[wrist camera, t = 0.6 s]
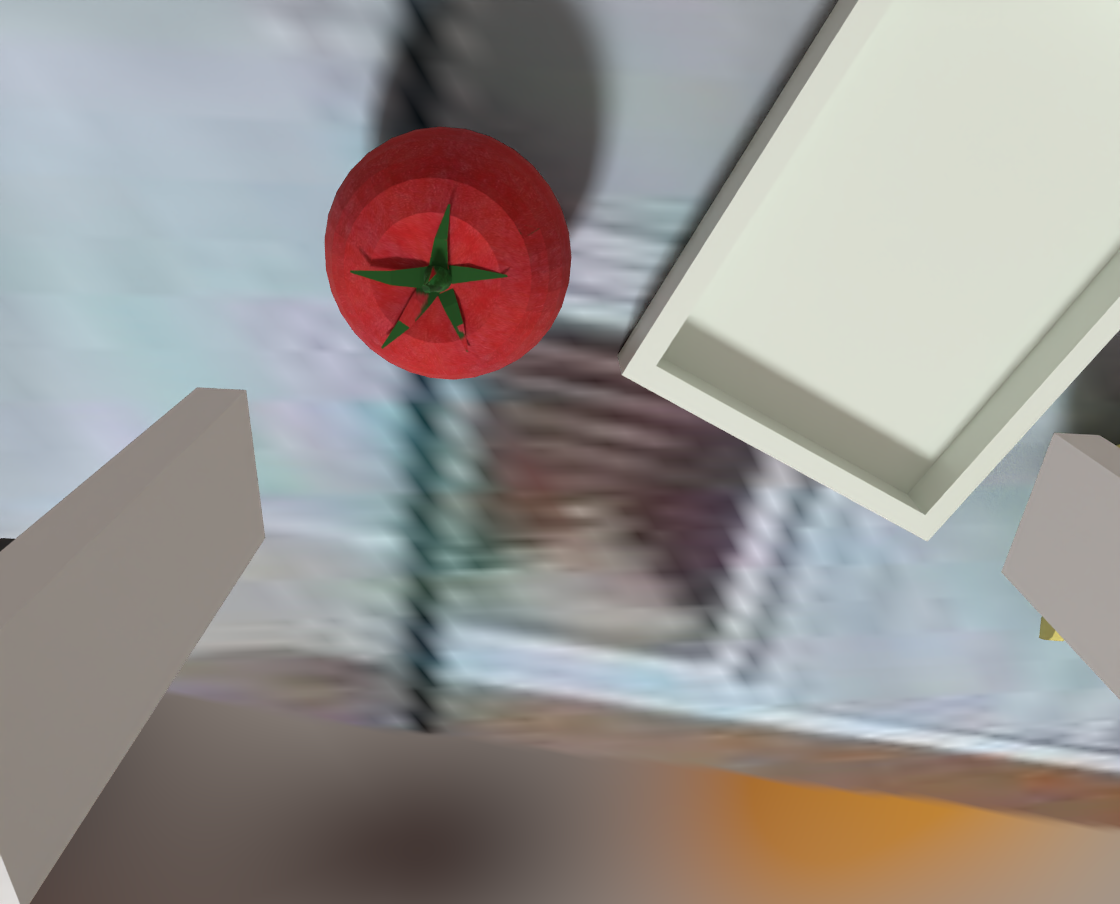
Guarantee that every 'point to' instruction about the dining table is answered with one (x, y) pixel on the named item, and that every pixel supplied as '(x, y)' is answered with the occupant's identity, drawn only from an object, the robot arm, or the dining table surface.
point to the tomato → (447, 253)
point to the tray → (906, 250)
